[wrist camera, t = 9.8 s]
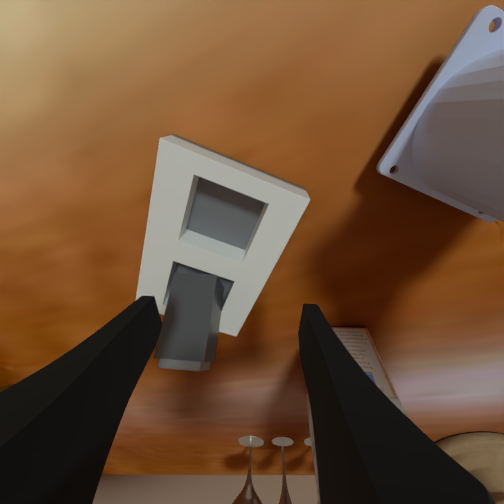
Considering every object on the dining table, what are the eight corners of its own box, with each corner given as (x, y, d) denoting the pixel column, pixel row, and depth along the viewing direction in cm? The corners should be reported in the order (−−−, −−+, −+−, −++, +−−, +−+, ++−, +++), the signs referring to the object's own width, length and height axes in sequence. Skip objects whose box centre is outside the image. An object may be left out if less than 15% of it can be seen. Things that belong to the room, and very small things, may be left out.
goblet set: (402, 434, 37) (462, 577, 25) (395, 448, 40) (447, 582, 28) (232, 433, 40) (218, 559, 29) (238, 447, 43) (228, 566, 32)
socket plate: (305, 188, 17) (310, 199, 15) (239, 317, 25) (236, 336, 22) (174, 134, 16) (159, 137, 14) (146, 288, 23) (134, 306, 21)
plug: (217, 274, 18) (202, 371, 16) (224, 287, 22) (213, 370, 19) (174, 272, 19) (151, 367, 16) (187, 285, 22) (171, 366, 19)
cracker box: (310, 323, 25) (425, 878, 7) (368, 324, 24) (652, 918, 6) (301, 392, 32) (345, 748, 14) (345, 394, 31) (448, 763, 14)
